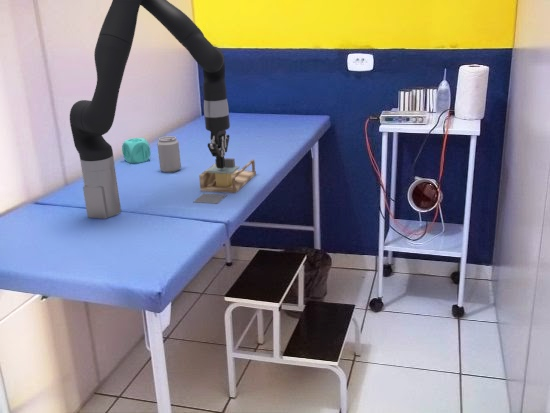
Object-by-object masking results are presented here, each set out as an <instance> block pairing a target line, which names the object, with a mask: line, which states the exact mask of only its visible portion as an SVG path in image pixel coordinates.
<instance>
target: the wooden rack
mask: <svg viewBox="0 0 550 413" xmlns="http://www.w3.org/2000/svg"><path fill="white" fill-rule="evenodd" d="M255 163H256V162H255V159H251V160H250V161H249V162H248V163H247V164H245V165H244V166H243V167H241V169H237V170H236V171H235V172H234V173H233V174H232V186H230V187H218V186H216V177H215V173H207V172H206V171H207V170H208V169H209V168H211V167H212V166H213V165H216V162H214V164H213V165H211V166H209V168H207V169H206V170H204V171H203V172H201V174H199V175H198V177H199V186H200V188H199V189H200V191H201V192H210V193H214V192H215V193H228V194H229V193H231V194H237V192H239V190H241V189H242V188H243V187H244V186H245V185H246V184H247V183H248V182H250V180H251V179H253V178H254V177H255V176H256V174H257V171H256V168H255V167H256V166H255V165H256V164H255ZM249 166H251V170H246V169H247V168H249Z"/></svg>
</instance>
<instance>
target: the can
mask: <svg viewBox="0 0 550 413" xmlns="http://www.w3.org/2000/svg"><path fill="white" fill-rule="evenodd" d="M156 146H157V153H158V161H159V168H160V170H161V171H162V172H163V173H168V174H169V173H170V174H171V173H175V172H178V171H179V170H180V169H181V168H182V163H181V162H182V161H181V154H180V152H181V151H180V142H179V140H178V139H177V137H176V136H173V135H172V136H171V135H170V136H169V135H168V136H167V135H165V136H162V137H159V138H158V142H157V144H156Z"/></svg>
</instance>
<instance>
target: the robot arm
mask: <svg viewBox="0 0 550 413" xmlns="http://www.w3.org/2000/svg"><path fill="white" fill-rule="evenodd" d="M140 7H143V8H144V9H145V10H146V11H147V12H149V14H151V15H152V16H153V17H154V18H155V19H156V20H157V21H158V22H159V23H160V24H161V25H163V27H164V28H165V29H166V30H167V31H168V32H169V33H170V34H171V36H173V38H174V39H176V40H177V41H178V43H180V44H181V45H182V46H183V47H184V49H185V50H187V51H188V52H189V54H190V55H191V57H192V58H193V59H194V60H195V62H196V63H197V65H199V67H200V68H202V75H203V82H202V91H203V92H202V94H203V112H204V123H205V124H204V126H205V130H207V131H209V132H210V136H209V137H210V142H208V143H207V147H208V150H209V152H210V154H211V155H212V157H215V159H216V161H215V163H217V168H221V169H222V168H224V167H225V160H224V158H225V156H226V153H227V152H228V147H229V143H230V138H231V137H230V135H229V134H227V131H226V130H229V129H230V126H231V124H230V122H231V121H230V113H229V109H230V108H229V104H228V96H227V86H226V79H225V78H226V65H225V64H226V62H225V60H226V59H225V55H224V52H223V51H222V50H221V48H219V47H218V46H215V45H213V44H212V43H211V42H210V41H209V40H208V39H207V38H206V37H205V35H204V33H203V31H202V30H201V28H200V27H199V26H198V25H197V24H196V23H195V22H194V21H193V20H192V19H191V18H190V17H189V16H188V15H187V14H186V13H185V12H183V11H182V10H181V9H179V8H178V7H177V6H175V5H174V4H172V3H171V2H170V1H168V0H112V2H111V3H110V6H109V9H108V11H107V12H106V15H105V17H104V20H103V23H102V25H101V27H100V31H99V33H98V36H97V37H98V38H97V41H96V44H95V48H94V63H95V64H94V65H95V70H96V85H95V89H94V92H93V96H92V99H91V100H83V99H81V100H78V101H77V102H74V104H73V105H72V106H71V108H70V111H69V125H70V129H71V134H72V139H73V142H74V143H73V144H74V148H75V149H76V151H77V153H78V156H79V160H80V167H81V173H82V180H83V185H84V186H83V187H82V190H83V196H84V203H85V209H86V214H87V215H86V216H87V218H89V219H102V220H103V219H105V220H106V219H107V218H111V217H114V216H117V215H120V214H121V212H122V208H121V207H122V206H121V202H120V201H121V200H120V193H119V187H118V180H117V179H118V178H117V172H116V166H115V158H114V151H113V148H112V145H111V144H110V143H109V142H107V140H106V139H105V138H104V136H103V135H105V134H107V133H108V132H109V131H110V130H111V128H112V127H113V124H114V120H115V116H116V110H117V105H118V100H119V93H120V88H121V85H122V81H123V77H124V74H125V71H126V70H125V69H126V66H127V63H128V60H129V57H130V53H131V50H132V46H133V41H134V38H135V33H136V29H137V28H136V27H137V21H138V15H139V12H140Z"/></svg>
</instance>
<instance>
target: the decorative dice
mask: <svg viewBox="0 0 550 413" xmlns="http://www.w3.org/2000/svg"><path fill="white" fill-rule="evenodd" d="M121 147H122V148H121V152H122V155H123V158H124V160H125V162H127V163H129V164H142V163H145V162H147V161H148V160H149V159H150V158H151V152H152V151H151V147H150V144H149V142H148V140H147V139H146V138H143V137H136V138H135V137H133V138H129V139H125V141H124V142H123V143H122V145H121Z"/></svg>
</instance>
